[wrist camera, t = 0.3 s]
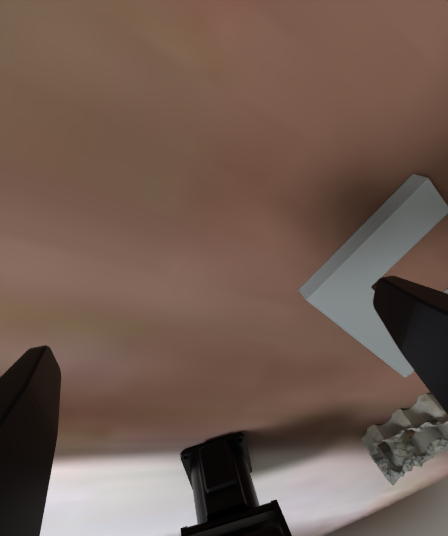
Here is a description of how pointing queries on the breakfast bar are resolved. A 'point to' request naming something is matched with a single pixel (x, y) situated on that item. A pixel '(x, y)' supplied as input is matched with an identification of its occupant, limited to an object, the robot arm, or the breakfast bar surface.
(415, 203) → the notched board
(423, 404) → the egg carton
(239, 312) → the breakfast bar surface
